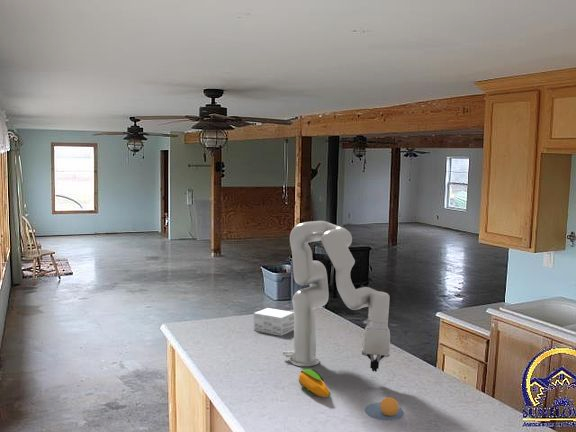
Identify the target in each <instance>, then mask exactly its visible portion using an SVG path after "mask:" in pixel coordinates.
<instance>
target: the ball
mask: <svg viewBox="0 0 576 432" xmlns="http://www.w3.org/2000/svg"><path fill="white" fill-rule="evenodd" d="M380 403H381V405H380V407H381V411H382V412H383V413H384V414H385V415H387V416H393V415H395V414H396V413H397V412H398V408H400V407H399V403H398V401H397V400H396V399H395V398H393V397H389V396H387V397H384V398H382V400H381V402H380Z"/></svg>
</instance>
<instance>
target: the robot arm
mask: <svg viewBox="0 0 576 432" xmlns="http://www.w3.org/2000/svg"><path fill="white" fill-rule="evenodd" d="M319 241H321V244H322V247H323V248H324V250H325V253H326V254H327V256H328V258H329V259H330V262H331V264H332V265H333V267H334V269H335V283H336V289H337V292H338V294H339V296H340V298H341V300H342V302H343V303H344V305H345V306H346V307H347V308H348V309H349V310H352V311H357V310H361V309H362V308H366V307H367V308H368V315H367V319H365V320H363V324H364V325H366V326H365V329H364V332H363V339H362V349H361V352H360V353H362V354H361V355H362V356H365V357H367V358H368V359H369V360H370V369H371V372H375V373H376V372H377V371H378V369H379V367H380V364H379V363H380V361H381V360H382V359H384V358H388V357H390V356H391V355H390V351H391V333H390V332H391V331H390V328H389V327H388V325H389V314H390V313H389V311H390V298H391V297H390V295H389V294H388V292H384V291H381V290H380V291H378V290H376V289H374V288H371V287H369V286H363V287H358V288H356V287H355V286H354V284H353V282H352V279H351V271H352V268H353V267H354V265H355V263H356V259H355V258H354V257H353V254H352V252H351V251H350V249H349V247H350V246H351V245H352V243H353V242H352V241H353V237H352V233H351V232H350V231H349V230H348V229H346V228H345V227H342V226H339V225H336V224H333V223H331V222H330V221H329V222H328V221H325V220H314V221H304V222H301V223H298V224H296V225H294V227H293V228H292V229H291V231H290V234H289V246H290V250H291V255H292V271H293V279H294V282H295V283H296V284H297V285H299V286H308V285H309V287H305V288H301V289H299V290H297V291H296V292H295V293H294V294H293V296H292V299H291V301H292V303H291V304H292V309H293V312H294V330H293V348H292V350H290V351H288V350H283V351H282V355H283V356H285V358H289V362H290V363H291V364H292V365H294V366H298V367H305V368H306V367H313V366H316V365H318V364H319V363H320V358H319V356H317V328H318V327H317V325H318V322H317V317H316V314H315V310H316V309H319V308H322V307H324V306H325V305H327V303H328V302H329V297H330V296H329V295H330V293H329V283H328V281H329V280H328V273H327V269H326V266H325V265H324V264H323V262H321V261H319V260H313V252H312V248H311V247H310V245H309V243H312V242H319ZM374 356H376V357H374Z"/></svg>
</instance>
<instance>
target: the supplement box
mask: <svg viewBox="0 0 576 432" xmlns="http://www.w3.org/2000/svg"><path fill="white" fill-rule="evenodd" d="M255 330H256V332H260V331H261V332H260V333H265V332H266V333H265V334H270V333H271V334H270V335H276V336H281V337H282V336H284V335H286V334H289V333H290V332H294V311H288V310H282V309H279V308H278V309H276V308H271V307H265V308H264V309H261V310H258V311H255V312H253V331H255Z"/></svg>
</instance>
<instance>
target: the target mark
mask: <svg viewBox="0 0 576 432" xmlns="http://www.w3.org/2000/svg"><path fill="white" fill-rule="evenodd" d="M380 405H381V402H373V403H369V404H367V405H366V406H365V407H364V412H365V413H366V414H367V415H368V416H370V417H371V418H373V419H377V420H381V421H395V420H398V419H401V418H402V417H404V411H403V409H402V408H401V407H399V408H398V412H397V413H396V414H395V415H393V416H387V415H385V414H384V413H383V412H382V411H381V407H380Z"/></svg>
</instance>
